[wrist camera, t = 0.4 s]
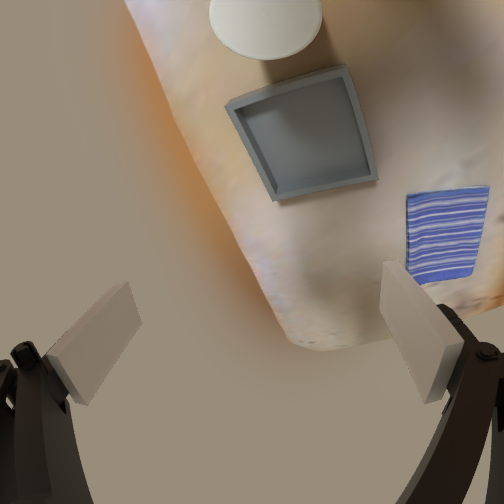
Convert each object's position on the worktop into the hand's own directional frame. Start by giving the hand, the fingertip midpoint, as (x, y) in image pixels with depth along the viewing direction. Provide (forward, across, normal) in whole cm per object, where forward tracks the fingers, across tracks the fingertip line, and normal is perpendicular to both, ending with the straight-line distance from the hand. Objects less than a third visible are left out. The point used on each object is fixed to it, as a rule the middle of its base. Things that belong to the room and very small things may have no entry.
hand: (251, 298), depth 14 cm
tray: (+30, +6, +9) cm, 32 cm away
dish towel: (+36, +33, -11) cm, 50 cm away
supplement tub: (+23, +5, +25) cm, 35 cm away
